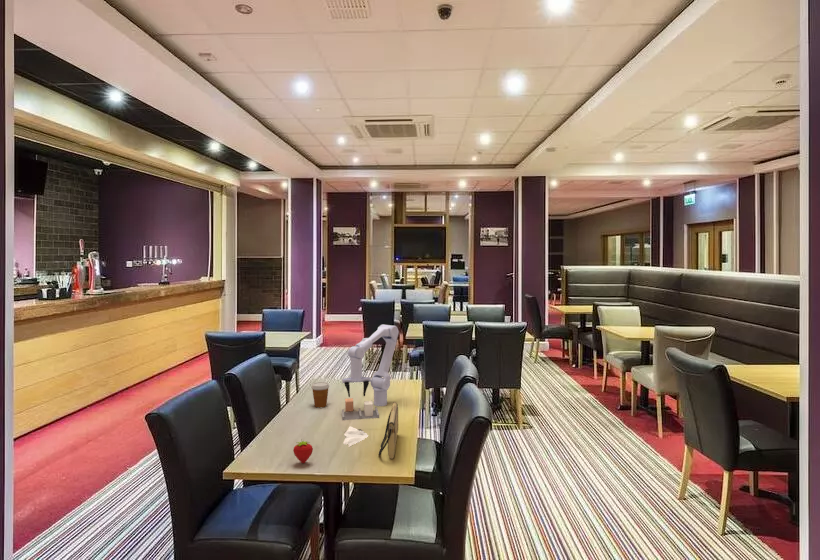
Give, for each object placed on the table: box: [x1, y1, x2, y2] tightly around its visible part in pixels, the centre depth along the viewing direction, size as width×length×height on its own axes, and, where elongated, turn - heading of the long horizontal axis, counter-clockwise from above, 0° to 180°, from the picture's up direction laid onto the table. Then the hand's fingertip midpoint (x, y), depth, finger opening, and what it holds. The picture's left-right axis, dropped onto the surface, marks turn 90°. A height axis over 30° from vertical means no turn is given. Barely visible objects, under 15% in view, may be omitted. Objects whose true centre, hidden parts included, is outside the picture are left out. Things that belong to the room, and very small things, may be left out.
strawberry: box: [293, 438, 314, 464], centre depth 179 cm, size 6×8×10 cm
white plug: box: [363, 400, 374, 417], centre depth 233 cm, size 6×4×6 cm, turn 10°
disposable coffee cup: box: [311, 381, 330, 409], centre depth 250 cm, size 10×10×12 cm
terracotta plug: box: [344, 397, 354, 412], centre depth 241 cm, size 6×4×6 cm, turn 10°
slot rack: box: [341, 406, 380, 421], centre depth 232 cm, size 12×18×2 cm, turn 100°
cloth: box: [342, 425, 370, 448], centre depth 207 cm, size 26×14×2 cm, turn 171°
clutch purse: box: [377, 401, 399, 460], centre depth 194 cm, size 30×7×15 cm, turn 179°
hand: (356, 396), depth 237 cm, fingers open, 7 cm apart
